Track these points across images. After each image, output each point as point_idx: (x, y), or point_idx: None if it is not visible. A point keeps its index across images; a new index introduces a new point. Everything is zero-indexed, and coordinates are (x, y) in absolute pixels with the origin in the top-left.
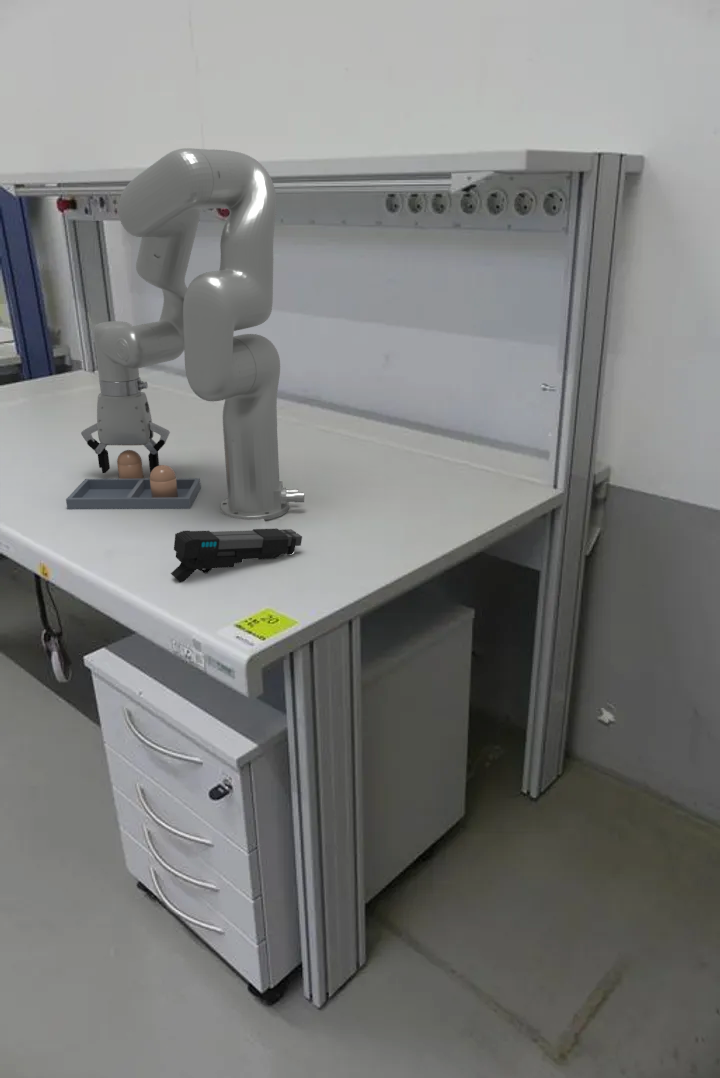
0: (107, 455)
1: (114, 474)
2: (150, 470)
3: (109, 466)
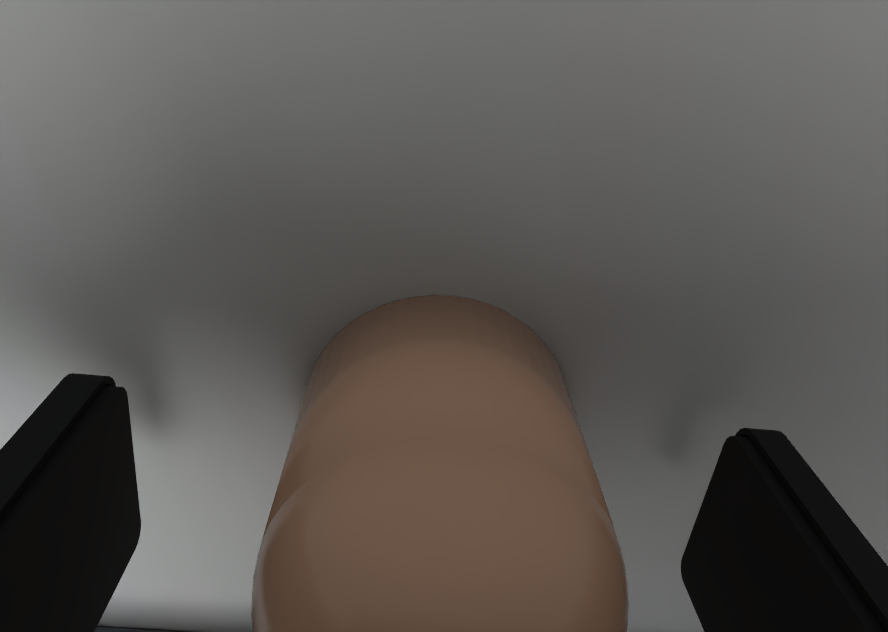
0: (26, 567)
1: (169, 178)
2: (696, 597)
3: (114, 402)
